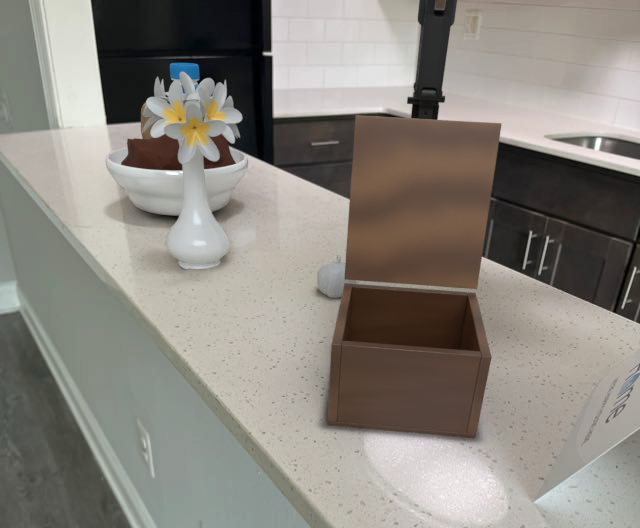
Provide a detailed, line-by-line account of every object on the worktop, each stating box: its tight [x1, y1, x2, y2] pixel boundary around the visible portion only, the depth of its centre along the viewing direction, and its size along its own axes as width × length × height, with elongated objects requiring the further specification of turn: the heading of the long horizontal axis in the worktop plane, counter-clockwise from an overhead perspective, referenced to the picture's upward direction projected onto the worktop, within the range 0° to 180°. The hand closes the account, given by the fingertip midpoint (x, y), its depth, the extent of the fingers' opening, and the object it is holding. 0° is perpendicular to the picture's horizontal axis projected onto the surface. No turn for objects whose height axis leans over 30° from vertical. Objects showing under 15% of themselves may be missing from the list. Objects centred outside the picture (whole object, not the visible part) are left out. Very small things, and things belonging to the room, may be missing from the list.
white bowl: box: [104, 134, 249, 217], centre depth 118 cm, size 25×25×15 cm
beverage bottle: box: [169, 62, 200, 94], centre depth 158 cm, size 8×8×20 cm
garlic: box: [316, 254, 357, 299], centre depth 88 cm, size 6×5×5 cm
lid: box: [344, 114, 502, 290], centre depth 65 cm, size 16×14×1 cm
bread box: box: [326, 283, 492, 439], centre depth 65 cm, size 15×14×9 cm
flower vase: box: [142, 72, 243, 271], centre depth 91 cm, size 13×18×25 cm
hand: (418, 170), depth 71 cm, fingers closed
